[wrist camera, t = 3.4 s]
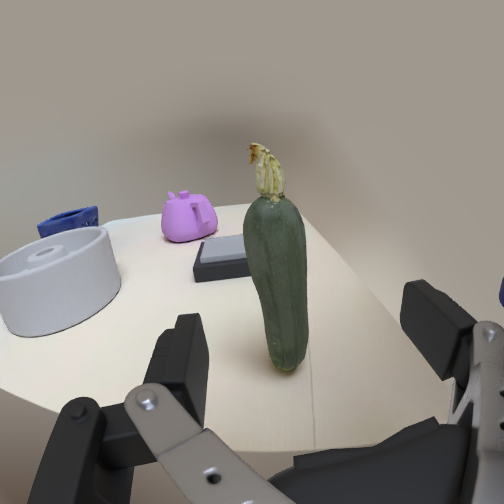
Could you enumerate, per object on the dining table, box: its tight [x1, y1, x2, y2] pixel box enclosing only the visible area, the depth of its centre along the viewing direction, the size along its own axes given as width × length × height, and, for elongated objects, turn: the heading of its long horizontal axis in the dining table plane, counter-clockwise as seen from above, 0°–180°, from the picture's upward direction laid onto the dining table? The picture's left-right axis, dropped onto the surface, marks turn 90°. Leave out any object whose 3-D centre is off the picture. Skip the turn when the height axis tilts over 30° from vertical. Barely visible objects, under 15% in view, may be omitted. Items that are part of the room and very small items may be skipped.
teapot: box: [161, 191, 218, 242], centre depth 71 cm, size 13×20×11 cm
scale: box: [193, 234, 251, 282], centre depth 52 cm, size 14×13×4 cm
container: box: [0, 226, 121, 337], centre depth 43 cm, size 25×25×10 cm
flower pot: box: [37, 206, 98, 239], centre depth 66 cm, size 13×13×12 cm
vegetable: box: [243, 143, 309, 371], centre depth 22 cm, size 4×4×20 cm
